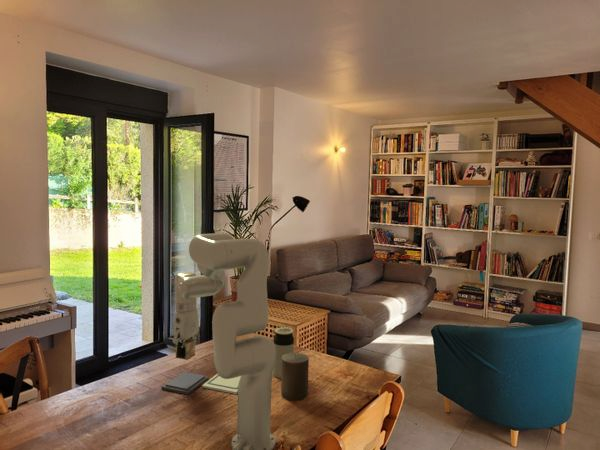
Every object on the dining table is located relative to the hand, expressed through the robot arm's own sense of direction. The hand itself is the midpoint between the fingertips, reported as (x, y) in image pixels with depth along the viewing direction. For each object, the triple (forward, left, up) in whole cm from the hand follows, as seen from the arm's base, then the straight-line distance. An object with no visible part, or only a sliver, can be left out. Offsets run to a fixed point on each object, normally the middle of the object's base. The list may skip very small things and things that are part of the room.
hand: (185, 354), depth 171 cm
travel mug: (+22, -30, -12) cm, 39 cm away
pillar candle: (+8, -40, -12) cm, 43 cm away
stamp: (0, 0, -1) cm, 1 cm away
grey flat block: (0, 0, -11) cm, 11 cm away
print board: (+8, -14, -11) cm, 20 cm away
